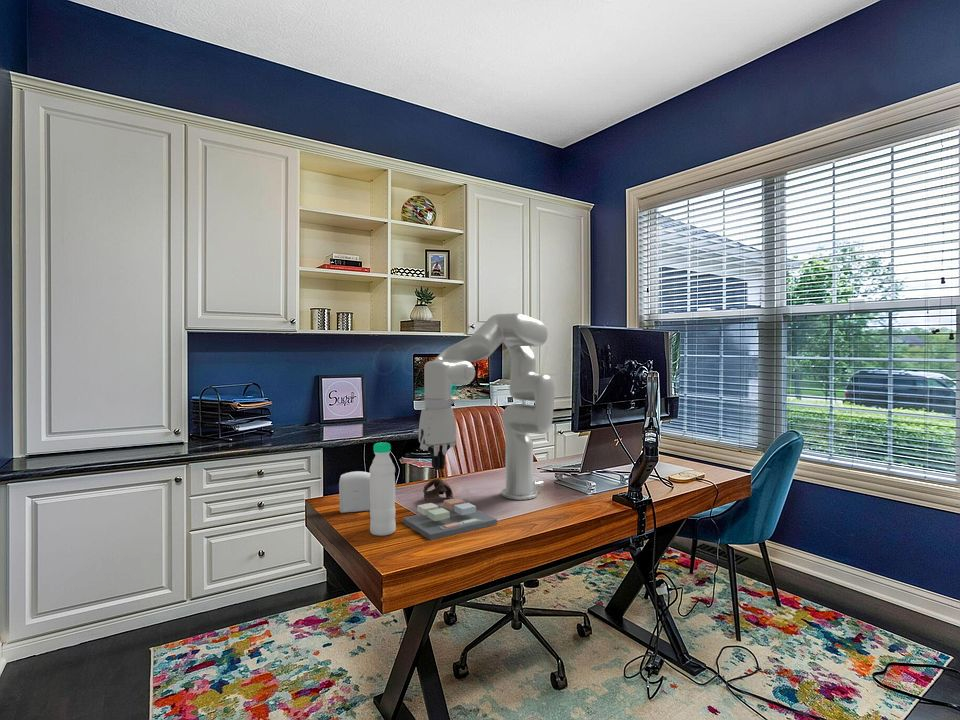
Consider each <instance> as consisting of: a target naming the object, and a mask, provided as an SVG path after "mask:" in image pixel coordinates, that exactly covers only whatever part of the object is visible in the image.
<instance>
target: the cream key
mask: <svg viewBox="0 0 960 720" xmlns="http://www.w3.org/2000/svg"><path fill="white" fill-rule="evenodd" d="M416 506H417V507H416V508H417V512H418V513H419V514H423V515H427V511H429V510H434V509H439V508H440V507H439V505H438V504H435V503H433V502H429V503H424V504H418V505H416Z"/></svg>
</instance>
